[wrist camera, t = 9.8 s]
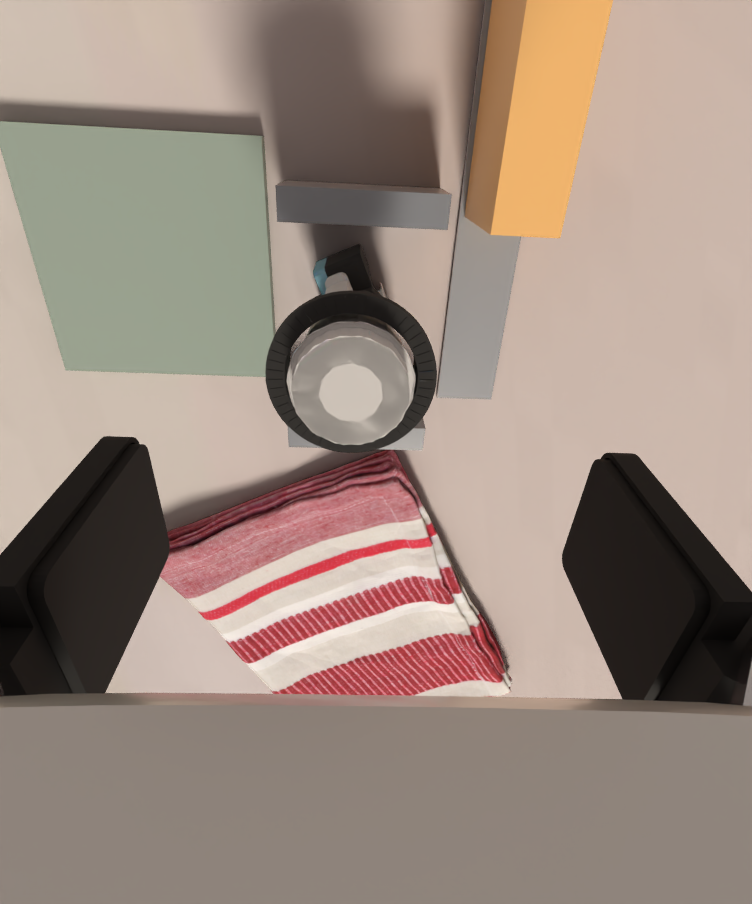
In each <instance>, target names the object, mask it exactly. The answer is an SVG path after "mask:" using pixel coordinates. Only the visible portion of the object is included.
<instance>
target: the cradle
mask: <svg viewBox="0 0 752 904" xmlns="http://www.w3.org/2000/svg"><path fill="white" fill-rule="evenodd" d="M491 4H492V0H485V3H484V11H483V19H482V27H481V36H480V44H479V52H478V60H477V68H476V77H475V85H474V93H473V101H472V110H471V118H470V126H469V134H468V143H467V151H466V159H465V167H464V175H463V184H462V192H461V200H460V208H459V217H458V225H457V233H456V241H455V249H454V258H453V266H452V274H451V282H450V291H449V299H448V307H447V315H446V323H445V332H444V340H443V348H442V356H441V365H440V373H439V381H438V389H437V398H463V399H491V397H492V391H493V386H494V380H495V375H496V370H497V364H498V359H499V353H500V348H501V343H502V337H503V332H504V326H505V321H506V315H507V310H508V305H509V299H510V294H511V288H512V283H513V277H514V272H515V267H516V261H517V256H518V250H519V245H520V239H521V236H502V235H490V234H488V233H487V232H486V231H484V230H483V229H481V228H480V227H479V226H477V225H476V224H474V223H473V222H471V221H470V220H469V219H467V218H466V217H464V216H465V209H466V201H467V193H468V185H469V177H470V169H471V161H472V154H473V146H474V138H475V130H476V122H477V114H478V106H479V99H480V91H481V83H482V75H483V67H484V59H485V51H486V44H487V36H488V28H489V20H490V12H491ZM451 195H452V194H450V193H448V192H446V191H445V190H443V189H441V188H427V187H407V186H388V185H369V184H350V183H330V182H311V181H292V180H285V181H283V182H281V183H279V184H277V185H276V204H277V222H294V223H315V224H336V225H357V226H378V227H398V228H419V229H440V230H448V222H449V213H450V204H451ZM424 435H425V426H424V421H423V418H422V419H421V421H420V422H419V423H418V424H417V425H416V426H415V427H414V428H413V429H412V430H411V431H410V432H409V433H408V434H406V435H405V436H404V437H402V438H401V439H399V440H398V441H396V442H394V443H392V444H390V445H388V446H385V447H382V448H380V449H385V450H423V444H424ZM288 442H289V447H311V448H322V447H319V446H317V445H314V444H312V443H310V442H308V441H307V440H305V439H303V438H302V437H300V436H299V435H298V434H296V433H295V432H294V431H293V430H292V429H291V428H289V427H288Z"/></svg>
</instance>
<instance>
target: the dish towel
mask: <svg viewBox="0 0 752 904" xmlns="http://www.w3.org/2000/svg"><path fill="white" fill-rule="evenodd" d="M167 534H168V538H169V544H170V550H169V556H168V559H167V561H166V564H165V566H164V568H163V570H162V572H161V574H160V577H161V578H162V579H163V580H165V581H166V582H167V583H168V584H169V585H170V586H172V587H173V588H174V589H175V590H176V591H177V592H178V593H180V594H181V595H182V596H183V597H184V598H185V599H186V600H187V601H188V602H189V603H190V604H191V605H192V606H193V607H194V608H195V609H196V610H197V611H198V612H199V613H200V614H201V615H202V616H203V617H204V618H205V619H206V620H207V621H208V622H209V623H210V624H211V625H212V626H213V627H214V628H215V629H216V630H217V631H218V632H219V634H220V635H221V636H222V637H223V638H224V639H225V640H226V642H227V643H228V644H229V646H230V647H231V648H232V649H233V650H234V652H235V653H236V654H237V655H238V656H239V657H240V658H241V659H242V660H243V661H244V662H245V663H246V664H247V665H248V666H249V667H250V668H251V669H252V671H253V672H254V673H255V674H256V675H257V676H258V677H259V678H260V679H261V680H262V681H263V682H264V683H265V684H266V685H267V686H268V687H269V689H270V690H271V691H272V693H273V694H323V695H400V696H469V697H493V696H500V695H504V694H507V693H510V692H511V690H510V686H511V685H512V683H511V682H512V678H511V677H510V676H509V674H508V672H507V670H506V668H505V665H504V663H503V660H502V655H501V652H500V648H499V645H498V643H497V641H496V638H495V636H494V635H493V632H492V631H491V629H490V627H489V625H488V624H487V622H486V620H485V619H484V617H483V616H482V615H481V613H480V612H479V611H478V610H477V609H476V607H475V606H474V604H473V603H472V602H471V600H470V598H469V596H468V595H467V593H466V591H465V589H464V587H463V585H462V583H461V581H460V578H459V576H458V574H457V572H456V570H455V568H454V566H453V564H452V563H451V561H450V558H449V556H448V554H447V552H446V550H445V548H444V546H443V544H442V541H441V539H440V537H439V535H438V533H437V531H436V529H435V527H434V525H433V523H432V521H431V519H430V517H429V515H428V514H427V512H426V510H425V508H424V506H423V505H422V503H421V500H420V498H419V496H418V494H417V492H416V490H415V488H414V487H413V486H412V484H411V483H410V481H409V479H408V476H407V474H406V472H405V470H404V469H403V467H402V465H401V463H400V460H399V458H398V456H397V454H396V453H395V451H394V450H384V451H381V452H378V453H375V454H373V455H370V456H368V457H365V458H363V459H361V460H358V461H355V462H352V463H349V464H346V465H344V466H342V467H339V468H336V469H334V470H331V471H328V472H326V473H323V474H319V475H316V476H313V477H311V478H308V479H305V480H302V481H299V482H296V483H294V484H291V485H288V486H285V487H283V488H280V489H278V490H275V491H272V492H270V493H267V494H265V495H263V496H260V497H257V498H255V499H252V500H250V501H247V502H245V503H242V504H240V505H237V506H235V507H232V508H230V509H227V510H225V511H222V512H220V513H218V514H215V515H213V516H210V517H207V518H205V519H202V520H199V521H197V522H194V523H192V524H189V525H186V526H183V527H179V528H176V529H174V530H171V531H169V532H167Z"/></svg>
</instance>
